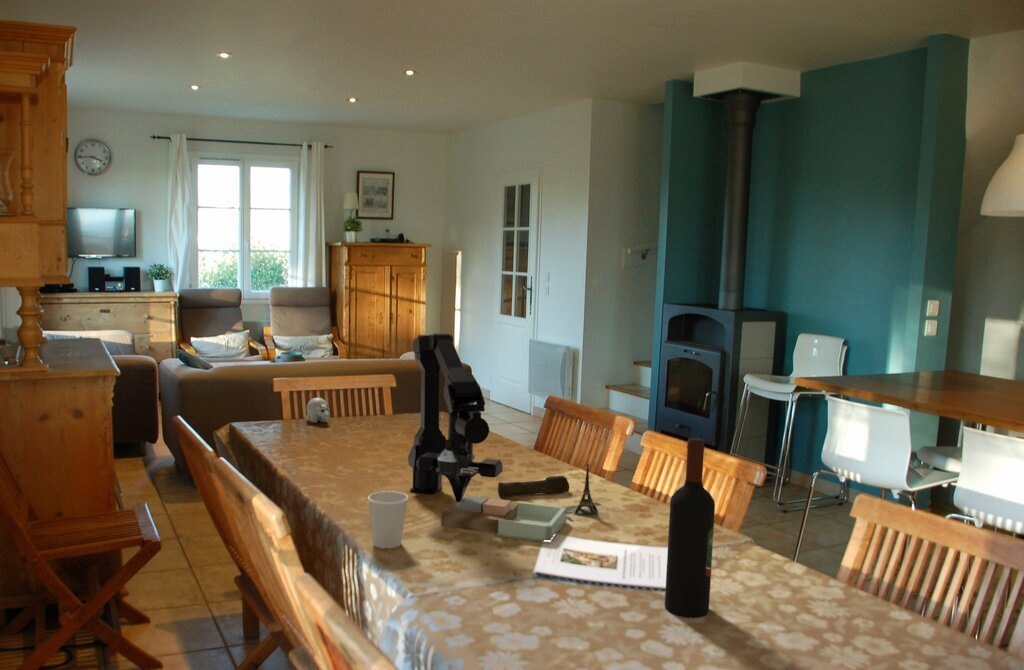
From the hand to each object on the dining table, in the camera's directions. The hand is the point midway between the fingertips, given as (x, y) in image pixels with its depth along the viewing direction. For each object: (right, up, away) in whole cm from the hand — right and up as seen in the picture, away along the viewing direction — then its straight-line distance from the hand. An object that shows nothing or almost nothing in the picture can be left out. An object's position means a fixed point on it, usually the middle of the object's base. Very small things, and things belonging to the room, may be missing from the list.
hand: (458, 501), depth 194 cm
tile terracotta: (+9, -2, -2) cm, 9 cm away
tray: (+17, -5, -5) cm, 18 cm away
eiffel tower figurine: (+30, -5, +10) cm, 31 cm away
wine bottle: (+43, -10, -45) cm, 63 cm away
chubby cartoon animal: (-54, +7, +101) cm, 114 cm away
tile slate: (+3, -1, -1) cm, 4 cm away
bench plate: (+5, -4, -1) cm, 7 cm away
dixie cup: (-14, -6, -17) cm, 23 cm away
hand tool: (+17, -3, +23) cm, 29 cm away
